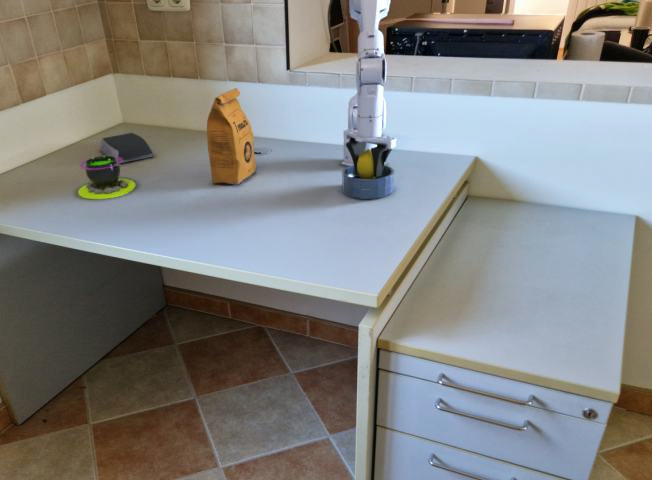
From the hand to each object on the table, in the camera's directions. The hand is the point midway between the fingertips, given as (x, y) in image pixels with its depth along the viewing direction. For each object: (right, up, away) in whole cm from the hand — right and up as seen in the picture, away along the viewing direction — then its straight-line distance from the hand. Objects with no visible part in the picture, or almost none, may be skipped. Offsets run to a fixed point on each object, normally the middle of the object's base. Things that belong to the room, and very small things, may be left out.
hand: (368, 173), depth 145 cm
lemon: (0, -2, +1) cm, 2 cm away
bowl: (0, -4, +3) cm, 4 cm away
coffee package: (-34, +3, +15) cm, 37 cm away
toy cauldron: (-68, 0, +14) cm, 69 cm away
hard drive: (-69, +17, +40) cm, 82 cm away
